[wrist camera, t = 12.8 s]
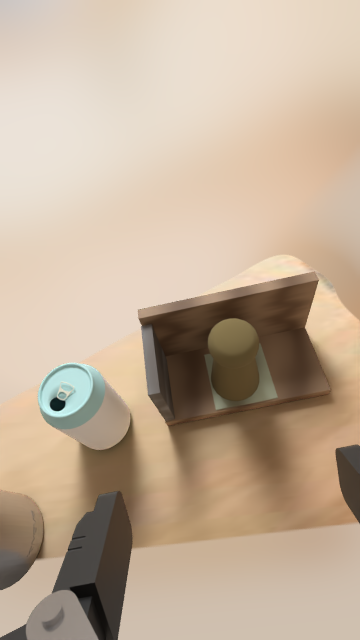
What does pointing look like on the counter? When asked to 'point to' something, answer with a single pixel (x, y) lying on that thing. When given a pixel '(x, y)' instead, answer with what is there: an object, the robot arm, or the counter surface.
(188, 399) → the shelf
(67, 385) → the can
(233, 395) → the cork
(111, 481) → the counter surface
